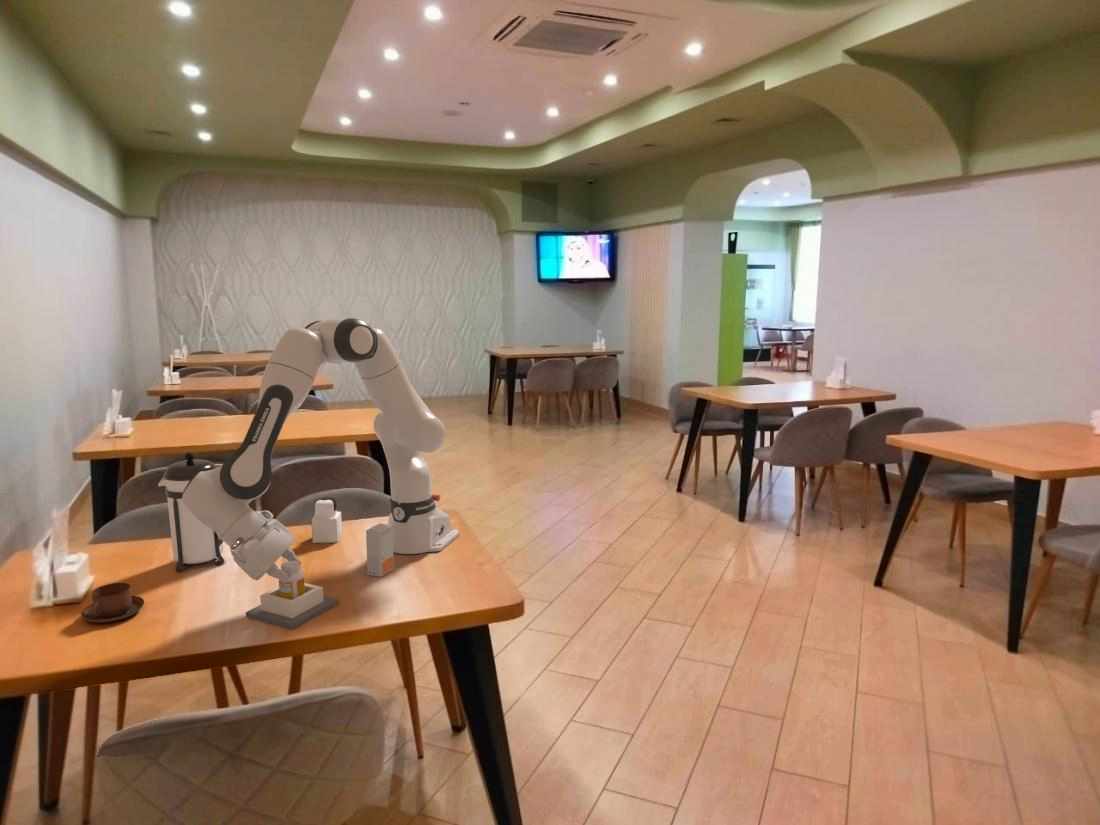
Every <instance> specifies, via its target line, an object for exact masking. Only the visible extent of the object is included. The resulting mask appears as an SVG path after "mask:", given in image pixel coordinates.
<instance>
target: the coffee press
mask: <svg viewBox="0 0 1100 825" xmlns="http://www.w3.org/2000/svg"><path fill="white" fill-rule="evenodd" d="M184 458H185V460H180V461H176V462H173V463H171V464H170V465H169V466H168V467H166V469H165V472H164V473H163V475H162V476H163V477H162V478H161V479H160V481H159V482H158V485H157V486H158V487H164V486H165V496H166V498H167V508H168V517H169V518H168V519H169V529H170V537H171V538H170V539H171V546H172V548H171V549H172V556H173V560H175V561H176V562H177V564H176V566H175V571H176V572H181V571H182V572H184V571H185V569H186V567H187V566H188V565H192V564H193V565H195V564H202V563H205V562H206V563H207V562H209V561H213V562H214V563H215V564H216V565H217V566H220V565H223V564H224V563H225V559H224V558H223V555H222V553H223V551H224V545H223V543H224V541H223V540H221V539H220V538H219V537H218V535H217V534H216V532H215V531H214V530H213V529H211V528H210V527H207V526H205V525H204V524H203V523H201V522H200V521H199V520H198V519H197V518H196V517H195V516H194V515H193V514H192V513H191V512H190V511H189V510H188V509H187V508H186V507H185V505H184V504H183V502H182V493H183V491H184V489H185V487H186V486H187V484H188V483H189V482H190V480H191V479H192V478H193V477H194V476H195V475H196V474H197V473H199V472H201V471H209V470H213V469H216V468H218V467H217V466H216V464H215V463H214V462H213V461H210V460H207V459H200V458H199V459H198V458H196V459H194V458H195V454H194V452H192V451H187V453H185V454H184ZM182 572H181V573H182Z"/></svg>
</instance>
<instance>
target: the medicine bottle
mask: <svg viewBox="0 0 1100 825" xmlns="http://www.w3.org/2000/svg"><path fill="white" fill-rule="evenodd" d="M310 521H311V522H310V523H311V537H312V538H311V539H312V543H313V544H327V543H329V544H330V543H331V544H332V543H338V542H339V540H340V538H341V536H342V535H343V528H342V526H343V525H342V524H343V522H342V511H338V506H337V499H336V498H333V497H327V496H326V497H320V498H318V499H316V500H315V501H314V515H313V516H312V518H311V520H310Z"/></svg>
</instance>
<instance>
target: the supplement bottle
mask: <svg viewBox="0 0 1100 825" xmlns="http://www.w3.org/2000/svg"><path fill="white" fill-rule="evenodd" d="M300 569H301V564H300V562H298V561H285V562H283V563H281V564H280V570H282V571H284V572H285V571H287V572H288V573H289V574H290V575H291V577H290V578H289V579H288V580H287V581H286V582H285V583H283V582H282V581H280V580H279V579H278V587H279V591H280V597H281V598H285V599H289V600H293V599H295V598H297V597H299V596H301V595H303V594H304V593H305V585H304V583H305V574H304V571H302V570H300Z"/></svg>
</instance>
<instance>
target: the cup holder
mask: <svg viewBox="0 0 1100 825" xmlns="http://www.w3.org/2000/svg"><path fill="white" fill-rule="evenodd" d="M304 585H305V593H304V594H303V595H301V596H299V597H297V598H295V599H293V600H289V599H285V598H281V597H280V591H279V586H276V587H274V588H273V589H271V590H269V591H267V592H264V593H262V594H261V595H260V596H259V597H260V604H259V605H258V606H255V607H254V608H251V609H249V610H247V611H245V617H246V618H250V619H253V620H257V621H261V622H264V623H268V624H271V625H276V626H280V627H283V628H287V629H291V630H294V629H296V628H298V627H299V626H301V625H303V624H305V623H306V622H308V621H310V620H312V619H314V618H316V617H318V616H319V615H321V614H322V613H324V612H326V611H328V610H329V609H332V608H333V607H335V606H337V605H339V599H338V598H335V597H330V596H325V595H324V587H323V586H319V585H315V584H311V583H307V582H304Z"/></svg>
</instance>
